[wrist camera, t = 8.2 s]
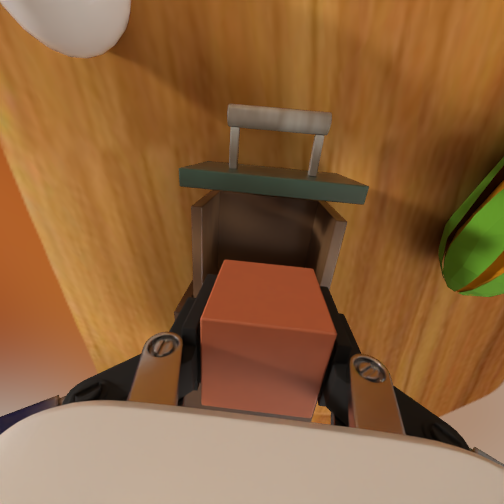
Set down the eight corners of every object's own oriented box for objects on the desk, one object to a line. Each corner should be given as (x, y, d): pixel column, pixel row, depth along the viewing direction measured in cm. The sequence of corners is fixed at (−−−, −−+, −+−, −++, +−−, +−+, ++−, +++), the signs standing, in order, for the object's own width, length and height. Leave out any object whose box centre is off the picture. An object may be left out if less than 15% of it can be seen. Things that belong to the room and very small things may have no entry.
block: (224, 258, 12) (199, 318, 8) (313, 268, 12) (338, 334, 7) (221, 327, 14) (200, 406, 9) (298, 336, 13) (311, 419, 9)
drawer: (207, 110, 20) (174, 90, 13) (348, 122, 20) (391, 109, 13) (206, 287, 28) (185, 335, 21) (308, 299, 28) (321, 351, 21)
